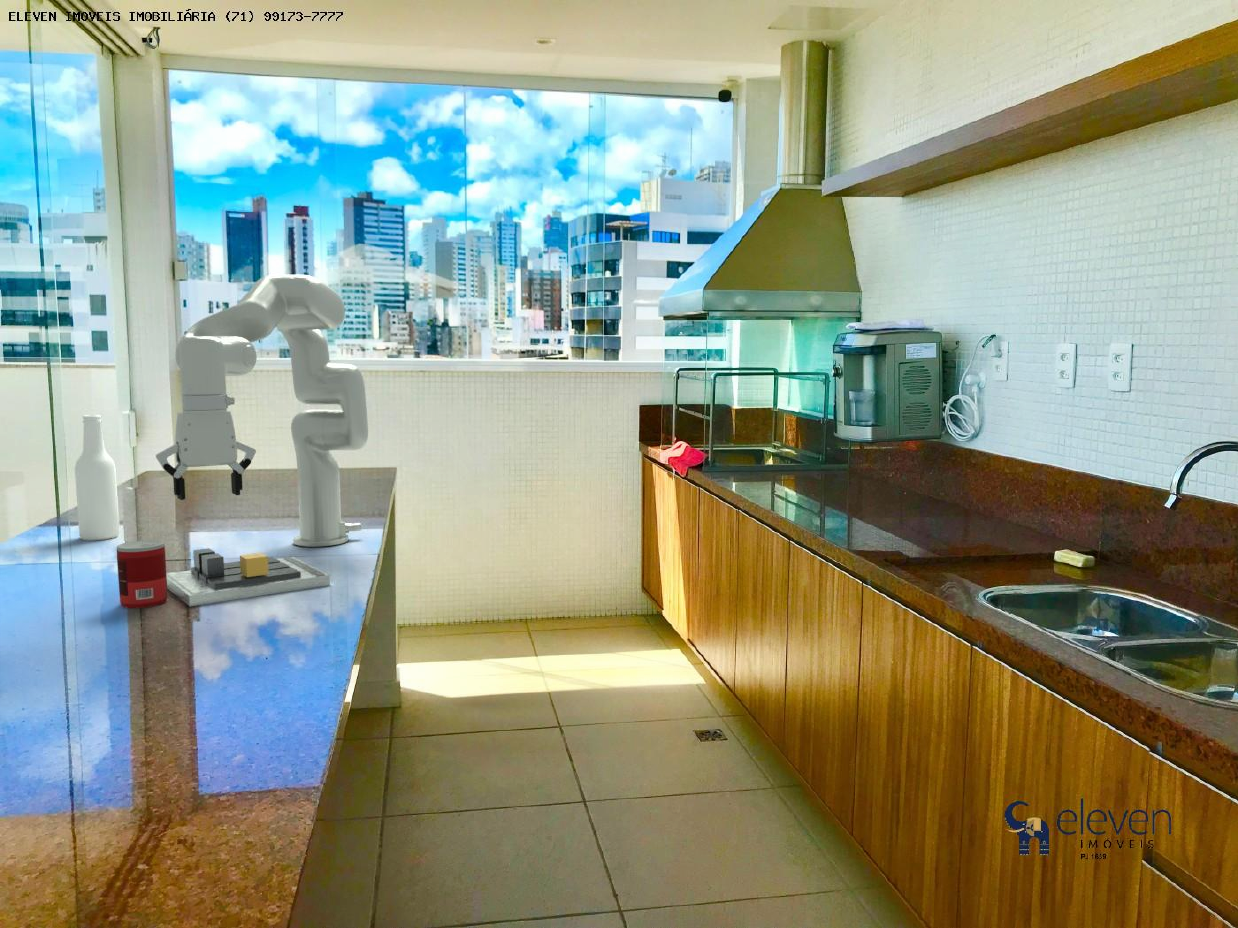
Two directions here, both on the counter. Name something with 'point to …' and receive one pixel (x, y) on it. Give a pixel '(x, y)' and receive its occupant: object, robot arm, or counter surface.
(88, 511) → the alcohol
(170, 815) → the counter surface
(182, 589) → the panel
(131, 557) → the canned food
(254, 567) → the mustard yellow cube
